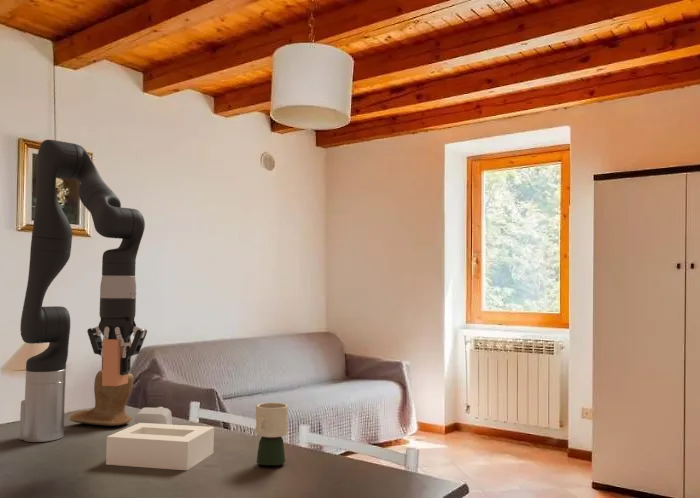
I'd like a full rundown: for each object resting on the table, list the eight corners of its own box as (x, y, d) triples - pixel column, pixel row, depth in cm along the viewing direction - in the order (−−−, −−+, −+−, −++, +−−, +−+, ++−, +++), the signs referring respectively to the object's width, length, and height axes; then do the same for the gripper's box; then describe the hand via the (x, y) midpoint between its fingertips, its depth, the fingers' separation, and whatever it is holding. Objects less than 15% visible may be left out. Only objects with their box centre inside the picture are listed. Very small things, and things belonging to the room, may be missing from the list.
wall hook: (183, 432, 164) (181, 396, 162) (168, 452, 154) (165, 414, 152) (154, 431, 164) (151, 395, 163) (137, 451, 154) (133, 413, 153)
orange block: (101, 385, 136) (103, 339, 137) (113, 382, 140) (115, 337, 141) (116, 386, 135) (117, 339, 136) (127, 383, 140) (129, 338, 140)
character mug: (270, 456, 144) (271, 399, 145) (297, 460, 141) (298, 402, 142) (243, 469, 134) (244, 408, 135) (270, 473, 131) (272, 411, 132)
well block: (106, 464, 136) (107, 436, 137) (139, 447, 150) (139, 422, 150) (187, 470, 133) (188, 441, 133) (213, 452, 147) (214, 427, 147)
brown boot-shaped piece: (141, 421, 178) (143, 368, 179) (114, 430, 167) (116, 374, 168) (96, 417, 183) (98, 366, 183) (67, 426, 171) (69, 371, 172)
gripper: (79, 296, 137) (76, 375, 136) (137, 296, 134) (135, 377, 133) (99, 295, 144) (97, 371, 143) (155, 296, 141) (153, 373, 140)
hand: (115, 373), depth 138 cm, fingers closed on orange block, 3 cm apart
